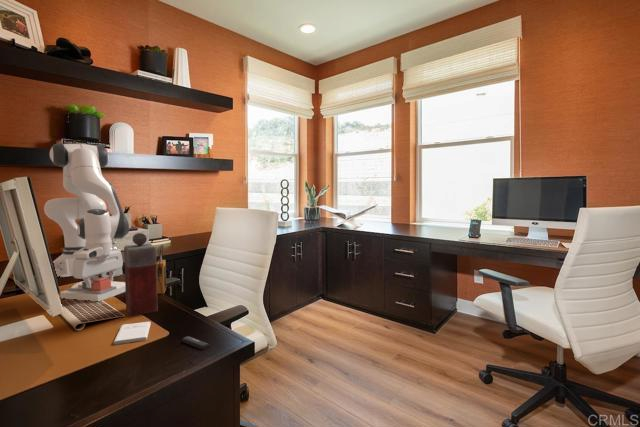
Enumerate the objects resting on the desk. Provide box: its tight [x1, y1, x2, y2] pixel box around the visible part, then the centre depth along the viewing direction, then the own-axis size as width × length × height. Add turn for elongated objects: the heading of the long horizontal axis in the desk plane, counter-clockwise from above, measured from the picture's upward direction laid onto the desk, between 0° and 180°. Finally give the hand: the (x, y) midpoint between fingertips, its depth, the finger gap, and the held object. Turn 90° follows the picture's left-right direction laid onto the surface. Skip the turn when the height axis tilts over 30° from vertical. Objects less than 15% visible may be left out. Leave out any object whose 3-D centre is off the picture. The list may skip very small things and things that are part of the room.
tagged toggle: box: [81, 280, 92, 289], centre depth 135 cm, size 3×3×4 cm
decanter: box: [123, 232, 159, 317], centre depth 120 cm, size 9×11×28 cm
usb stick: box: [181, 335, 210, 351], centre depth 94 cm, size 10×3×2 cm, turn 58°
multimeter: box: [156, 245, 167, 298], centre depth 140 cm, size 15×10×20 cm
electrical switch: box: [100, 267, 123, 278], centre depth 167 cm, size 9×5×9 cm, turn 141°
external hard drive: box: [113, 321, 152, 345], centre depth 100 cm, size 2×8×12 cm
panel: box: [59, 280, 126, 302], centre depth 139 cm, size 18×18×4 cm
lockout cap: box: [90, 277, 111, 291], centre depth 134 cm, size 5×5×5 cm
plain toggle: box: [89, 275, 100, 280], centre depth 143 cm, size 3×3×4 cm
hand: (100, 284), depth 134 cm, fingers open, 8 cm apart
